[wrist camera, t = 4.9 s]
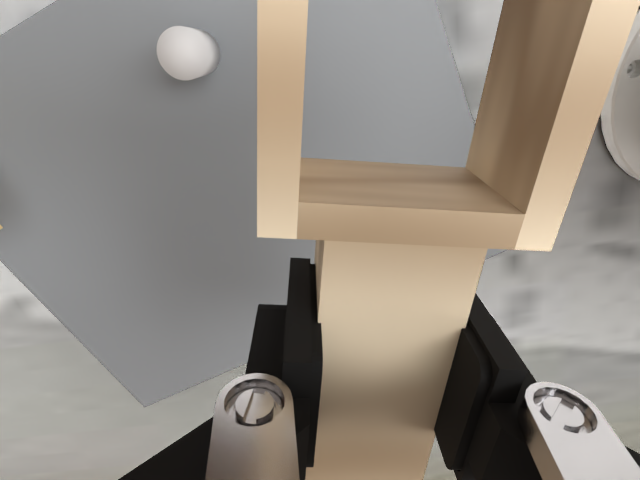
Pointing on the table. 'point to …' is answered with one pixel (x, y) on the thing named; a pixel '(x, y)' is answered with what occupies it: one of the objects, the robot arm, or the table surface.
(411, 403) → the wooden link
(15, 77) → the slate base
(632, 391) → the table surface
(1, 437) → the table surface
